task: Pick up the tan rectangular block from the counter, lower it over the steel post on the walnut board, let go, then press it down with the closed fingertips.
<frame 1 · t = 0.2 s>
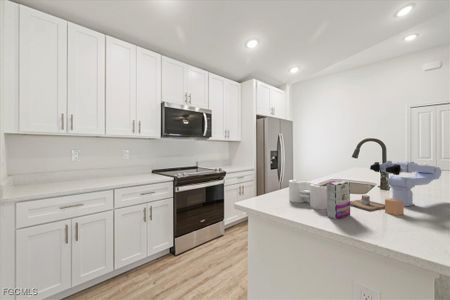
hand: (378, 168, 107), 21 cm above the counter, tool horizontal, fingers open, 7 cm apart
tan rectangular block: (394, 213, 100), on the counter
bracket: (308, 203, 119), on the counter
post board: (365, 205, 113), on the counter
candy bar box: (338, 216, 97), on the counter
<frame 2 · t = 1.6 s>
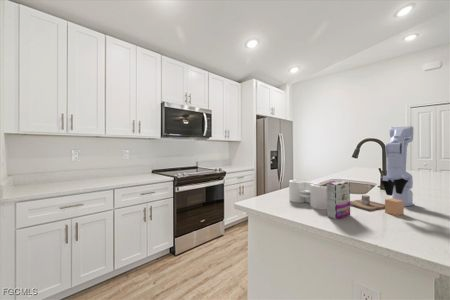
hand: (394, 194, 100), 9 cm above the counter, tool pointing down, fingers open, 7 cm apart
nothing on the counter moved.
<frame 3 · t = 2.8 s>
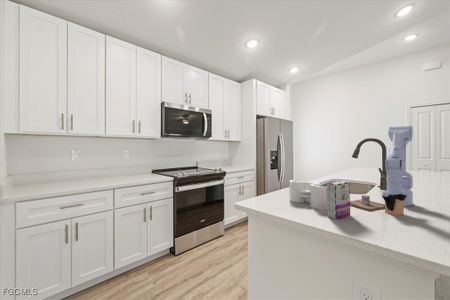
hand: (394, 209, 100), 2 cm above the counter, tool pointing down, fingers closed on tan rectangular block, 5 cm apart
tan rectangular block: (394, 213, 100), on the counter, touching gripper
everything else where it was.
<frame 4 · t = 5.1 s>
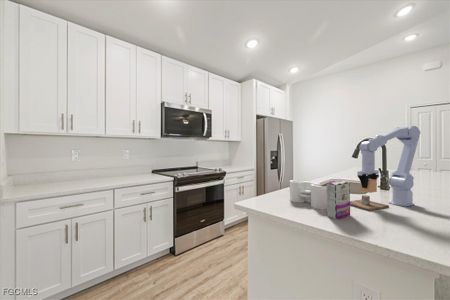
hand: (368, 187, 111), 10 cm above the counter, tool pointing down, fingers closed on tan rectangular block, 5 cm apart
tan rectangular block: (368, 191, 111), point 8 cm above the counter, touching gripper
everything else where it was.
when the fingers open (4 cm above the counter, at t = 7.3 s): tan rectangular block stays where it is, resting on post board.
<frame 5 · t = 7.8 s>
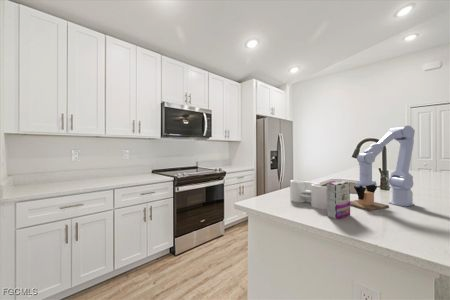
hand: (365, 198, 113), 4 cm above the counter, tool pointing down, fingers open, 7 cm apart
tan rectangular block: (366, 203, 113), point 1 cm above the counter, touching post board
everything else where it was.
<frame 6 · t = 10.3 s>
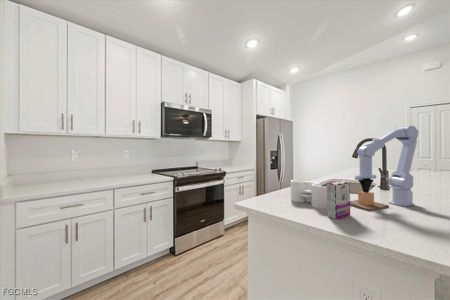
hand: (365, 192, 113), 8 cm above the counter, tool pointing down, fingers closed
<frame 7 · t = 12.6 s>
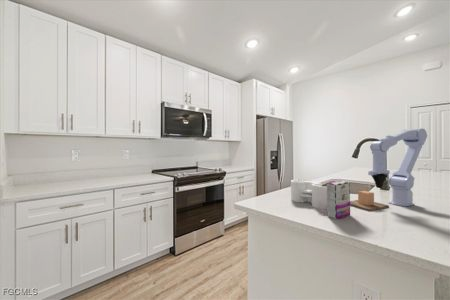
hand: (379, 187, 111), 10 cm above the counter, tool pointing down, fingers closed
at the end: tan rectangular block 0.2 cm from the post board (horizontally); tan rectangular block point 1.0 cm above the counter; tan rectangular block tilted 0° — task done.
